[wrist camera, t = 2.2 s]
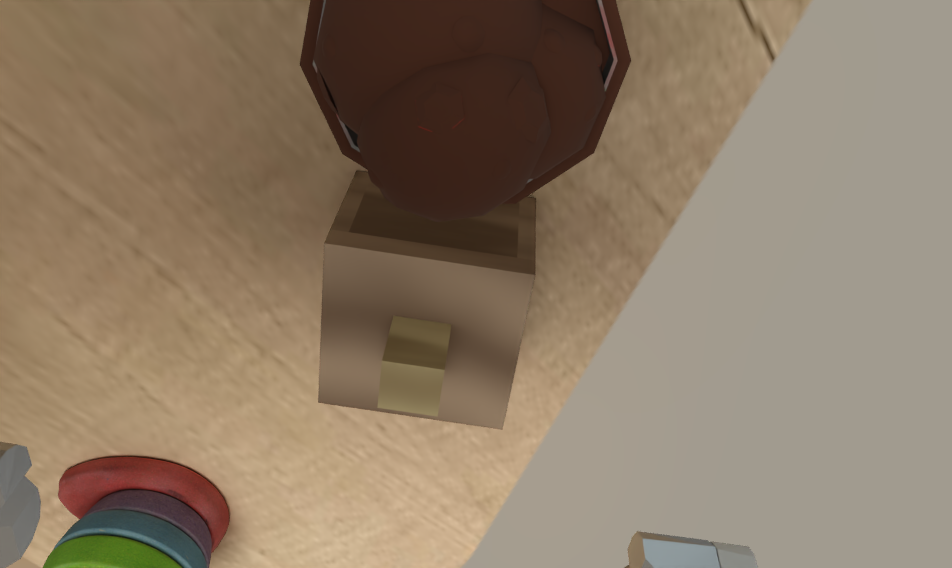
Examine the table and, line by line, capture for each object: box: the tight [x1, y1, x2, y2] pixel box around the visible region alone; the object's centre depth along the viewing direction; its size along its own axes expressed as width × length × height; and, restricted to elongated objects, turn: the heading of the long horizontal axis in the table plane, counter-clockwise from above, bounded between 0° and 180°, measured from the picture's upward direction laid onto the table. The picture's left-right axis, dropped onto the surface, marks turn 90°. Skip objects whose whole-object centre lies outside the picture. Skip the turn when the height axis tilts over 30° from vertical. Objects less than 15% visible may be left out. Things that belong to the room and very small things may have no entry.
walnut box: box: [331, 171, 536, 260], centre depth 40 cm, size 9×9×6 cm
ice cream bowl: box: [300, 0, 631, 222], centre depth 28 cm, size 11×11×15 cm
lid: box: [318, 229, 535, 430], centre depth 35 cm, size 9×9×4 cm
